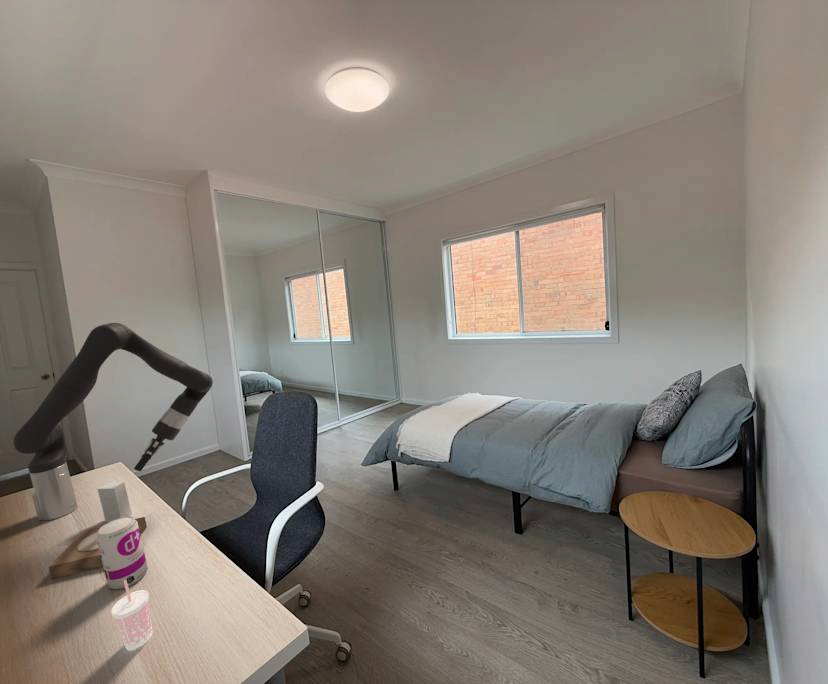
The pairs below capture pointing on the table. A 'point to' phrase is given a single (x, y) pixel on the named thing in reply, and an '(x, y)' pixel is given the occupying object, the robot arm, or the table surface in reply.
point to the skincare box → (114, 501)
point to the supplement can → (122, 552)
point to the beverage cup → (133, 618)
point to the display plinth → (83, 553)
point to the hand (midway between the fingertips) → (139, 467)
